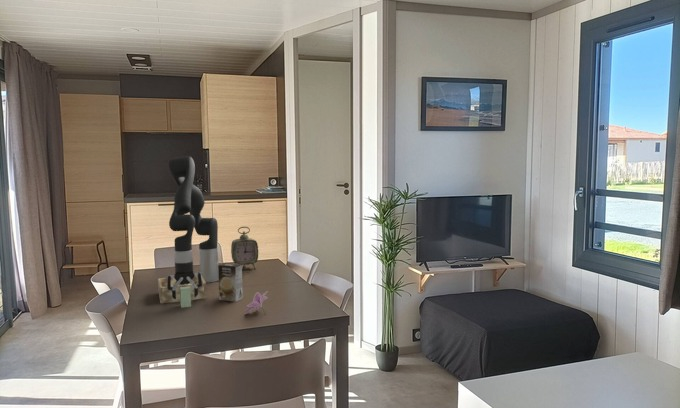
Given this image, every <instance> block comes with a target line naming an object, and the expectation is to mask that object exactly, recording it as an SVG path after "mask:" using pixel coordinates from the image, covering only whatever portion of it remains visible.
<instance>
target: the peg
mask: <svg viewBox="0 0 680 408" xmlns="http://www.w3.org/2000/svg"><path fill="white" fill-rule="evenodd" d="M179 302H180V307H181V309H183V308H189V307H191V308H192V300H191V291H190V287H180V301H179Z"/></svg>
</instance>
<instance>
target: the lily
mask: <svg viewBox="0 0 680 408" xmlns="http://www.w3.org/2000/svg"><path fill="white" fill-rule="evenodd" d="M268 292H269V290H267V291H265V292H264V293H262V294H261V293H260V292H259V291H257V292H255V294H254V295H253V298H252V301H251V302H249V303H248V304H247V306H246V307H247V308H246V310H245V312H244V315H246V314H247V313H249V312H250V311H251V310H253V309H254V310H255V311H259V308H261V309H262V311H263V313H264V314H265V316H266V315H267V313H266V311H265V309H264V308H263V306H262V304H263V302H264V301H265V300H267V299H268V298H269V297H268V296H266V295H267V294H268Z"/></svg>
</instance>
